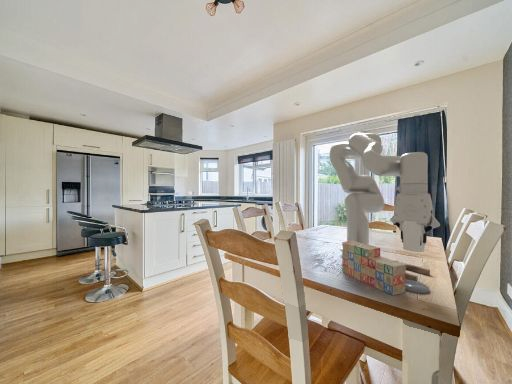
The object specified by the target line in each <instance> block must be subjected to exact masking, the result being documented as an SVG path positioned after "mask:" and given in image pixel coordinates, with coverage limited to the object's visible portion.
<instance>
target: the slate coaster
mask: <svg viewBox="0 0 512 384" xmlns="http://www.w3.org/2000/svg"><path fill="white" fill-rule="evenodd" d="M406 291H407V292H410V293H415V294H425V295H426V294H428V293H430V286H428V285H427V284H425V283H423V282H420V281H413V280H407V279H405V292H406Z"/></svg>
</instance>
